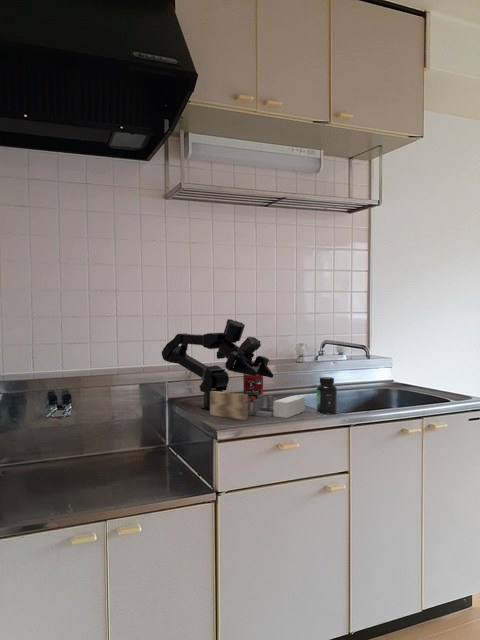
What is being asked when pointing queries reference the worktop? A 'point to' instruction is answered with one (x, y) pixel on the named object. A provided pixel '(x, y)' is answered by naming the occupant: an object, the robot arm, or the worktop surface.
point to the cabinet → (277, 406)
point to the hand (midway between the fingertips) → (264, 375)
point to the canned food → (253, 386)
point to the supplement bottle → (326, 396)
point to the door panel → (229, 405)
